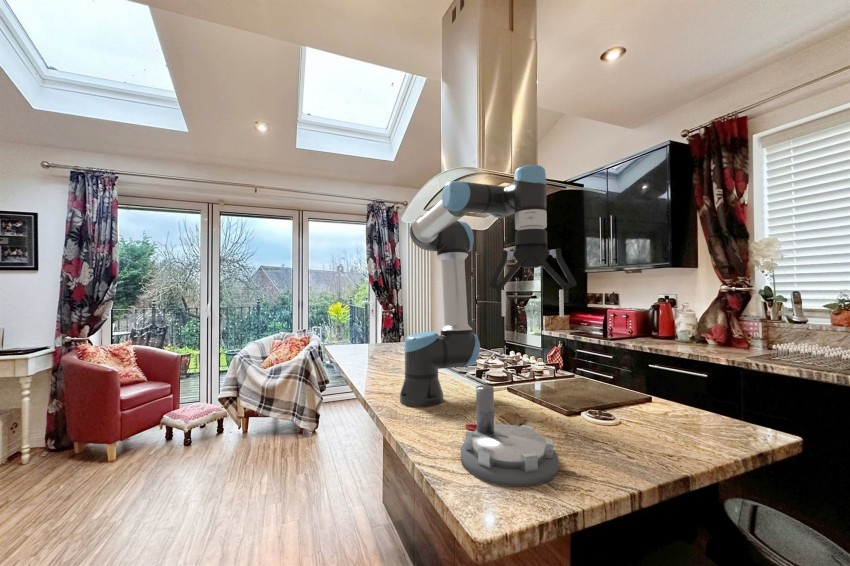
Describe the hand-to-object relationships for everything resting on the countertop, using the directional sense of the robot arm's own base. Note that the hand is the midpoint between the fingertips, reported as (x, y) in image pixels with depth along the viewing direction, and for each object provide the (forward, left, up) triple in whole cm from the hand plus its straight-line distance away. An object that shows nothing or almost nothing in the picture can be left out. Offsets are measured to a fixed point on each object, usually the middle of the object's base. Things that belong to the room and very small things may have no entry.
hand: (532, 316), depth 87 cm
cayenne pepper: (-7, -14, -32) cm, 36 cm away
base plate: (+9, -6, -32) cm, 33 cm away
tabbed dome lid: (+9, -6, -29) cm, 31 cm away
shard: (-16, -5, -32) cm, 36 cm away
